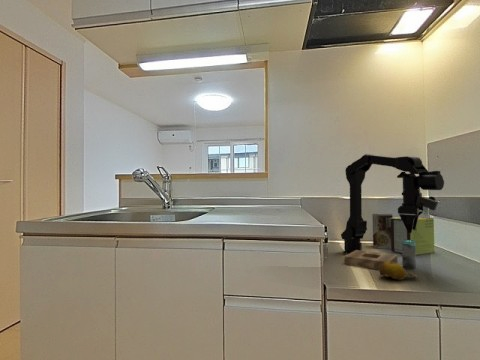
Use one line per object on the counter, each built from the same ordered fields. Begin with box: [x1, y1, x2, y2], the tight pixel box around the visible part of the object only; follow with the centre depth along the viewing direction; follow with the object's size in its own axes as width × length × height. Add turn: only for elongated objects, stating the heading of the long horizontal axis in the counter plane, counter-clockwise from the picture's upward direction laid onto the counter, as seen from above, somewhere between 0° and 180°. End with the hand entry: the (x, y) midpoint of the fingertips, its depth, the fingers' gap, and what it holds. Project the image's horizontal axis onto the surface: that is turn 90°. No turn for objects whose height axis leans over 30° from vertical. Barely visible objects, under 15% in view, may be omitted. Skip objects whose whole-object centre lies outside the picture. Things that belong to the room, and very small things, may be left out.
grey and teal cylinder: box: [401, 240, 417, 270], centre depth 115 cm, size 4×4×10 cm
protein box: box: [390, 216, 435, 256], centre depth 141 cm, size 10×15×16 cm
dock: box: [343, 250, 398, 270], centre depth 121 cm, size 16×14×3 cm
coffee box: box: [371, 213, 394, 250], centre depth 150 cm, size 9×6×16 cm
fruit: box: [378, 262, 418, 281], centre depth 102 cm, size 11×11×5 cm
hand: (411, 231), depth 116 cm, fingers open, 9 cm apart
